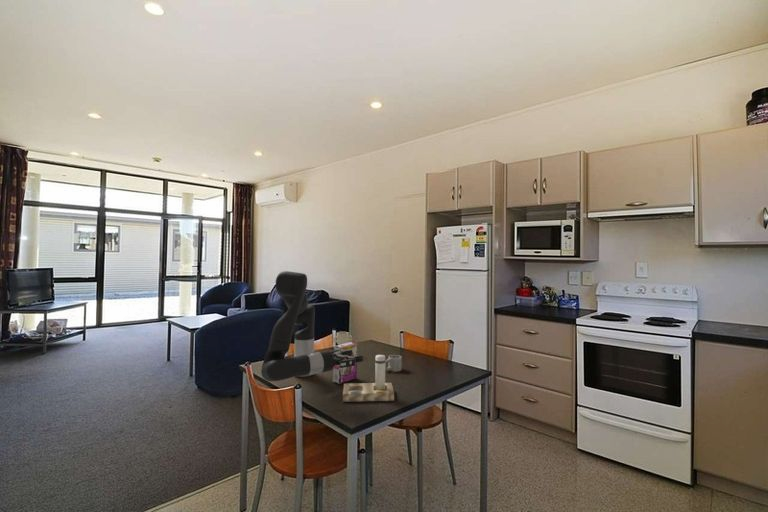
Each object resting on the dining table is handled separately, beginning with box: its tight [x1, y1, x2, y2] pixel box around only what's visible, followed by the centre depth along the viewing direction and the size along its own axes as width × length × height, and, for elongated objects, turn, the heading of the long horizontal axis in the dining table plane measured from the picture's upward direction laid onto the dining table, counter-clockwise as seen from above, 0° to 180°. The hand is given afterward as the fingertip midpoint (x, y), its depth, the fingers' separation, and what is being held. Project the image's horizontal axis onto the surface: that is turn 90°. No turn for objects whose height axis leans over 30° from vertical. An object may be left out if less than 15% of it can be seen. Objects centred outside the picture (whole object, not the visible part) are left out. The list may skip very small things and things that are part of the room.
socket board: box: [342, 382, 395, 403], centre depth 148 cm, size 20×12×3 cm, turn 94°
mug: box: [385, 354, 403, 373], centre depth 182 cm, size 10×7×7 cm, turn 126°
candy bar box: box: [332, 341, 358, 385], centre depth 167 cm, size 11×5×16 cm, turn 141°
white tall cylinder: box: [374, 354, 386, 390], centre depth 149 cm, size 4×4×16 cm
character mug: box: [333, 331, 353, 345], centre depth 209 cm, size 11×7×13 cm, turn 110°
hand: (356, 355), depth 143 cm, fingers open, 8 cm apart
